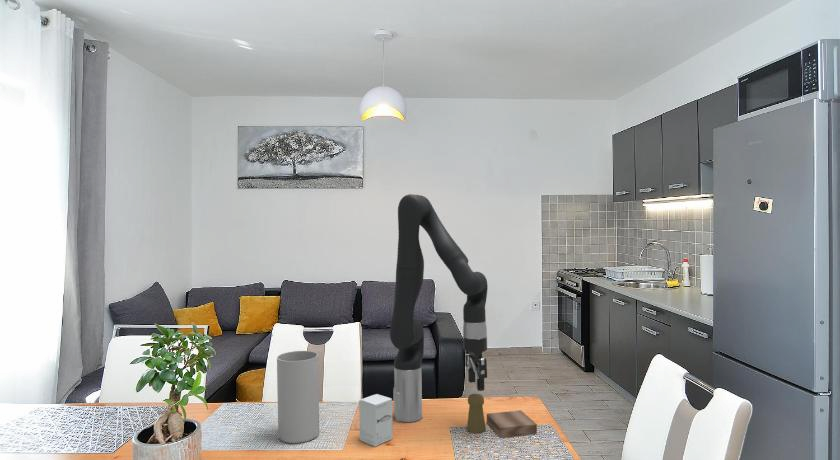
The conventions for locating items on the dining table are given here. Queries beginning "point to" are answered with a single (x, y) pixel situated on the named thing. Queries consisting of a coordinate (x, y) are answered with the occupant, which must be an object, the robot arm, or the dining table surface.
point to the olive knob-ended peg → (476, 414)
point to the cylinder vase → (298, 396)
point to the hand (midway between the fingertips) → (476, 386)
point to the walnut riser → (511, 424)
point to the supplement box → (375, 419)
